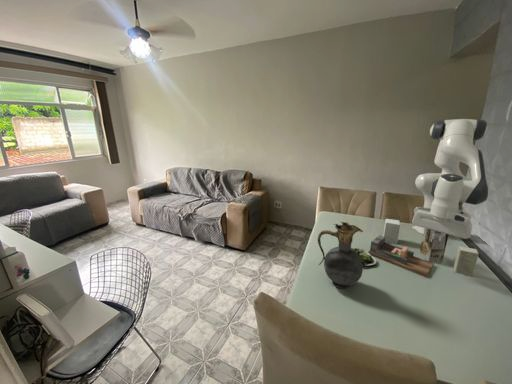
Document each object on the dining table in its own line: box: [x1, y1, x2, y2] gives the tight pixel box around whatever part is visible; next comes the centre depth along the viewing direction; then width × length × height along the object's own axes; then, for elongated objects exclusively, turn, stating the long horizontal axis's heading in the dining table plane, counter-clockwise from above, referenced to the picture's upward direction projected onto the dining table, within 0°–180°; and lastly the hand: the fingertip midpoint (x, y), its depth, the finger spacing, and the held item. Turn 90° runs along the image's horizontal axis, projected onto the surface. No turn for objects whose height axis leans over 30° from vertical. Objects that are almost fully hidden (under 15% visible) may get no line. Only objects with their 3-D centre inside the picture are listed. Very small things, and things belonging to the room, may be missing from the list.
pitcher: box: [317, 221, 364, 289], centre depth 93 cm, size 11×19×30 cm, turn 65°
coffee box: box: [419, 228, 450, 263], centre depth 111 cm, size 9×6×16 cm
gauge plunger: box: [391, 246, 409, 258], centre depth 111 cm, size 8×6×5 cm
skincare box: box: [453, 245, 479, 277], centre depth 100 cm, size 6×4×12 cm
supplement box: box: [382, 218, 401, 245], centre depth 130 cm, size 7×7×13 cm
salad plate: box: [351, 247, 377, 268], centre depth 115 cm, size 19×18×5 cm
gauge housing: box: [367, 234, 435, 278], centre depth 111 cm, size 13×26×8 cm, turn 39°
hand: (436, 239), depth 98 cm, fingers closed
